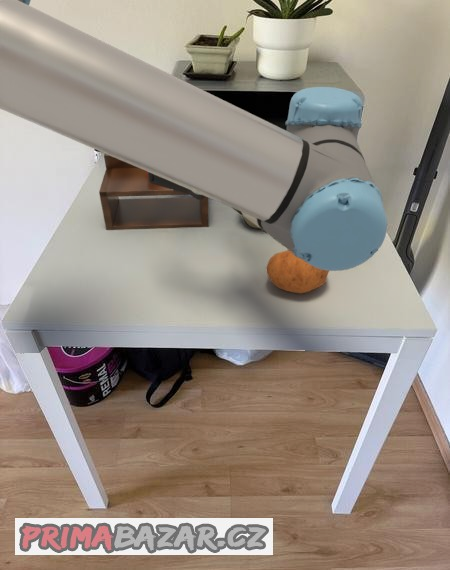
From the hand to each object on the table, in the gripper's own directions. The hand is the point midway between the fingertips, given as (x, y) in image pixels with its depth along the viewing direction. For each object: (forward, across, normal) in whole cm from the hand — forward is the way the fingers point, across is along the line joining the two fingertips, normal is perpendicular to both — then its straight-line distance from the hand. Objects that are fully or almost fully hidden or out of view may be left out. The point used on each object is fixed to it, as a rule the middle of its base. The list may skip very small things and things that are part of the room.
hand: (180, 142), depth 74 cm
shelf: (+16, +2, -23) cm, 28 cm away
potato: (-20, +11, -23) cm, 32 cm away
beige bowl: (+1, +19, -23) cm, 30 cm away
